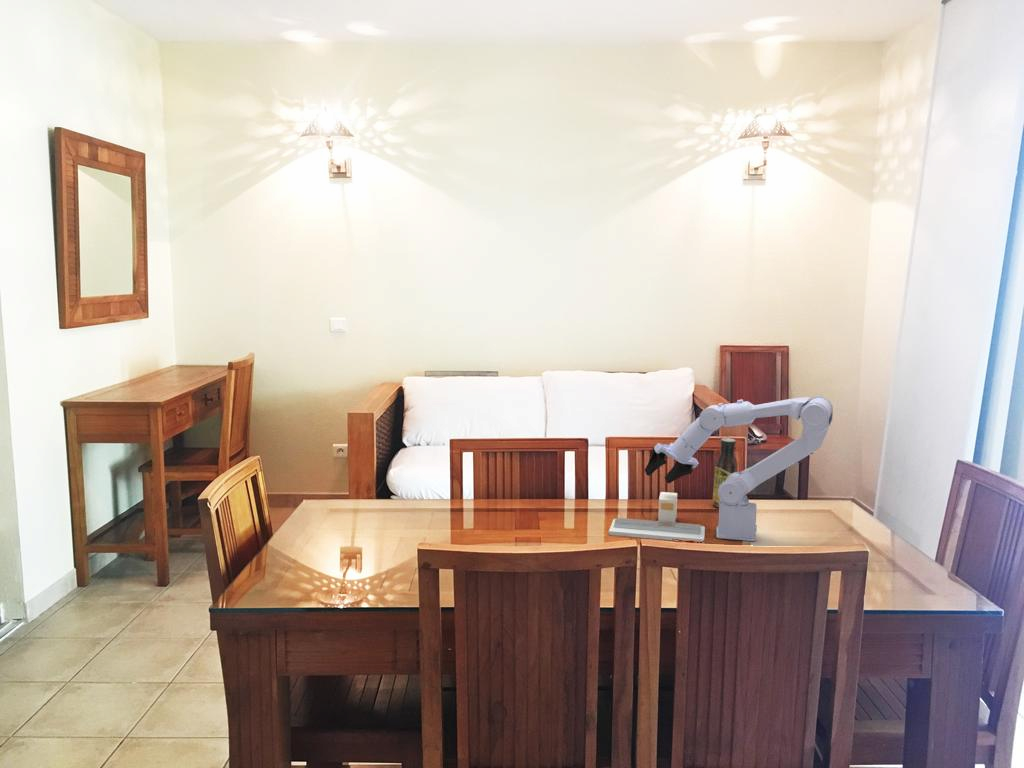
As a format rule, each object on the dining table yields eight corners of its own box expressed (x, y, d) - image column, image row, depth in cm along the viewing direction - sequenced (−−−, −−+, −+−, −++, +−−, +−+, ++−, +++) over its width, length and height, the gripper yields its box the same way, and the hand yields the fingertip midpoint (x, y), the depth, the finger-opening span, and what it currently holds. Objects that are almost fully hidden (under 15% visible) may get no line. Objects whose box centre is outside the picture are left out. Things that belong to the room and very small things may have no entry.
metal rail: (700, 530, 206) (700, 524, 206) (700, 534, 203) (700, 529, 203) (615, 523, 212) (616, 517, 211) (614, 527, 208) (614, 521, 208)
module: (676, 517, 219) (677, 493, 218) (675, 526, 212) (675, 500, 211) (659, 516, 220) (660, 491, 219) (658, 524, 213) (658, 499, 212)
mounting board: (704, 530, 209) (704, 526, 209) (703, 543, 200) (704, 539, 199) (613, 522, 215) (613, 518, 215) (608, 534, 206) (608, 531, 205)
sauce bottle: (708, 504, 231) (710, 437, 227) (725, 501, 233) (728, 435, 230) (722, 511, 225) (725, 442, 222) (740, 508, 227) (743, 440, 224)
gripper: (702, 440, 214) (670, 473, 220) (664, 423, 207) (632, 458, 212) (713, 457, 209) (679, 492, 214) (674, 441, 201) (641, 477, 207)
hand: (656, 476), depth 213 cm, fingers open, 7 cm apart
